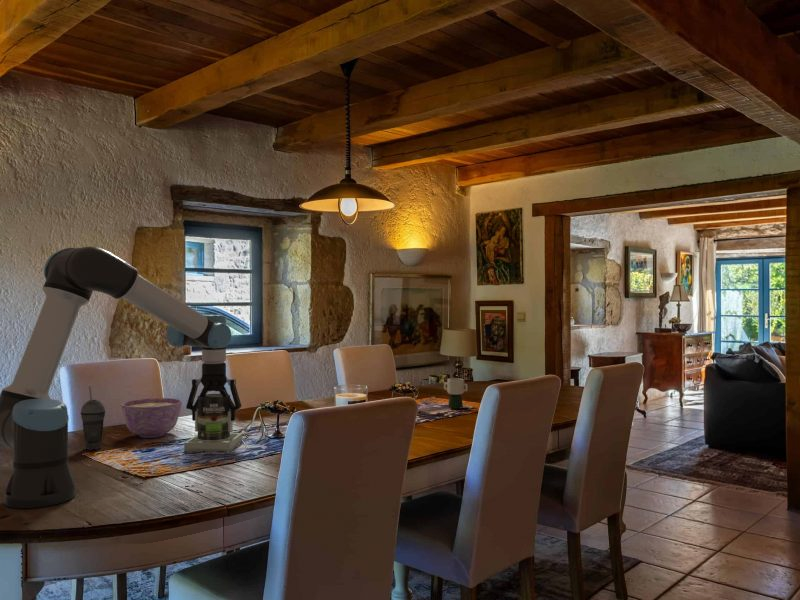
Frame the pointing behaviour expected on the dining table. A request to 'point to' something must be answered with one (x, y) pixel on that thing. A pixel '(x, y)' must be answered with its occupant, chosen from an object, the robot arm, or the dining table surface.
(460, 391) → the character mug
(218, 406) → the coffee can
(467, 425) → the dining table surface
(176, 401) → the bowl of food
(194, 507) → the dining table surface
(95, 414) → the beverage cup
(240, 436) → the tray
